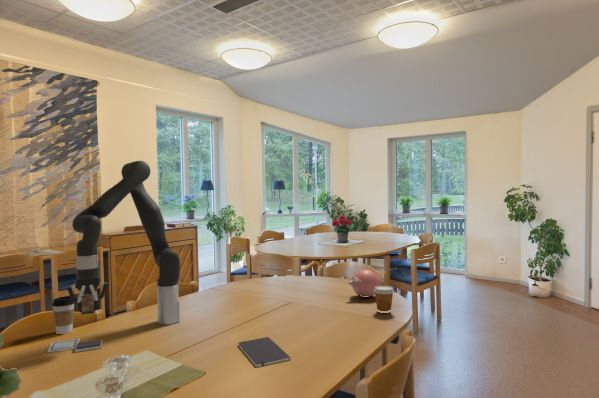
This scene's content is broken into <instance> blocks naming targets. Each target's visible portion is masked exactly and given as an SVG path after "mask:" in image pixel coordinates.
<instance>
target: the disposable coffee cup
mask: <svg viewBox="0 0 599 398" xmlns="http://www.w3.org/2000/svg"><path fill="white" fill-rule="evenodd" d="M374 291H375V295H374V296H375V303H376V309H378V310H380V311H388V310H391V311H392V306H393V305H392V303H393V296H394V291H395V290H394V288H393V287H392V286H390V285H389V286H388V285H380V286H376V287H375V289H374Z"/></svg>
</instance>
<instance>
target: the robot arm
mask: <svg viewBox="0 0 599 398" xmlns="http://www.w3.org/2000/svg"><path fill="white" fill-rule="evenodd" d="M120 172H121V176H122V179H121V180H120V181H118V182H117V183H116V184H114V185H113V186H112V187H110V188H108V189H107V190H106V191H105V192H103V193H102V194H101V195H100V196H99V197H98V198H97V200H95V202H93V204H92V205H90V206H88V207H87V208H85V209H84V210H82V211H81V212H79V213H78V214H77V215H76V216H75V217H74V219H73V221H72V224H71V226H72V229H73V230H74V232H76V233H81V234H82V238H81V239H80V240H78V241H77V242H76V260H75V262H76V263H75V269H76V271H75V272H76V273H75V274H76V276H75V277H76V282H75V283H74V284H72V285H69V286H67V292H68V294H69V296H70V297H71V300H72V301H73V302H75V303H77V311H78V312H79V313H81V312H82V299H81V298H82V296H83V295H87V294H93V296H94V300H95V301H94V310H95V311H97V310H98V309H99V307H100V303H99V300H101V299H103V298H104V296H105V294H106V290H107V287H108V282H106V281H105V282H102V281H100V276H99V275H100V274H99V256H98V242H99V239H100V234H101V231H102V223H101V219H103V218H106V217H107V216H109V215H110V214H111V213H112V212H113V211H114V210H115V208H116V207H117V206H118V205H119V204H120V203H121V202H122V201H123V200H124V199H125V198H126V197H127V196H128V195H129V194H130V196H131V198H132V201H133V203H134V205H135V208H136V210H137V214H138V217H139V220H140V222H141V225H142V227H143V230H144V232H145V234H146V238H147V239H148V241H149V244H150V245H151V246H150V247H151V251H152V255H153V258H154V263H155V264H156V266H157V267H158V269H159V271H158V278H157V281H156V282H157V283H156V285H157V286H156V288H157V289H156V290H157V297H156V299H157V324H158V325H163V326H167V325H169V326H170V325H174V324H176V323H179V322H180V299H179V294H180V293H179V279H180V275H181V271H180V270H181V267H180V266H181V263H180V261H181V260H180V256H179V254H178V253H177V252H176V251H174V250H172V249H171V247H170V245H169V242H168V241H167V237H166V228H165V221H164V217H163V214H162V212H161V209H160V207H159V205H158V204H157V203H156V201H155V200H154V199H153V198H152V197H151V196H150V194H149V193H148V192H147V190H146V188H145V185H144V182H145V181H146V180H148V178H149V177H150V176H151V167H150V165H149V164H148V163H147V162H146V161H144V160H135V161H132V162H128V163H125V164H124V165H123V166H122V168H121V171H120ZM98 287H100V288H101V293H100V294H98V291H97V290H98V289H97V288H98ZM75 288H76V289H77V290H78V291H79V295H78V297H76V295H75V291H76V289H75Z"/></svg>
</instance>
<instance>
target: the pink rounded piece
mask: <svg viewBox="0 0 599 398" xmlns="http://www.w3.org/2000/svg"><path fill="white" fill-rule="evenodd" d="M347 285H350V286H351V287H352V290H353V292H354V293H355V294H356V295H357V294H358V295H357V296H359V295H361V296H372V295H374V296H375V291H374V289H375V287H376V286H381V285H380V279H379V277H378V275H377V274H376V273H375V272H374V271H373V270H370V269H360V270H359V271H357V272H356V273H354V275H353V277H352V279H351V281H348V283H347ZM372 297H373V296H372Z"/></svg>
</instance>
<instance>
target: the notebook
mask: <svg viewBox="0 0 599 398" xmlns="http://www.w3.org/2000/svg"><path fill="white" fill-rule="evenodd" d="M237 344H238V347H239V348H240V349H241V351H242V352H243V353H244V354H245V355H246V357H247V358H248V359H249V360H250V362H252V364H253V365H254V366H255V367H264V366H267V365H272V364H276V363H281V362H285V361H291V356H290V355H289V354H287V352H285V351H284V350H283V349H282V348H281V347H280V346H279V345H278V344H277V343H276V342H274V341H273V339H272V338H271V337H269V336H265V337H261V338H255V339H250V340H245V341H239V342H238V343H237Z"/></svg>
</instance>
